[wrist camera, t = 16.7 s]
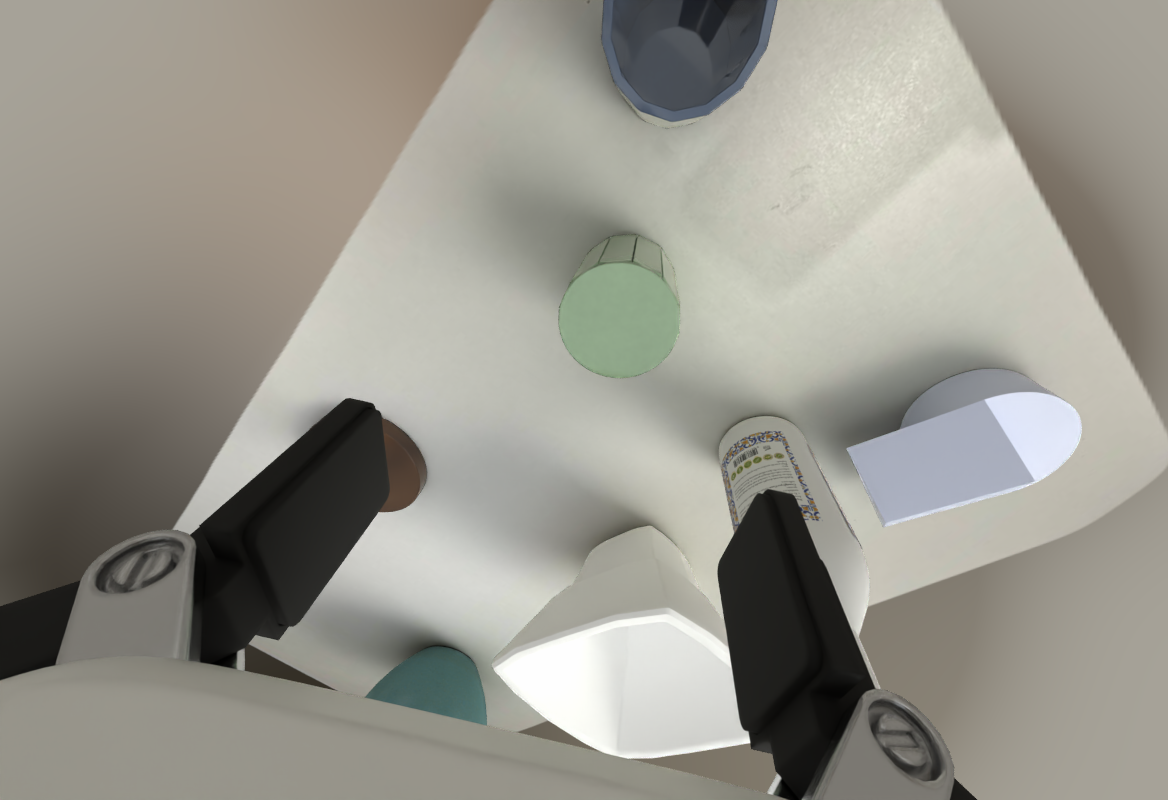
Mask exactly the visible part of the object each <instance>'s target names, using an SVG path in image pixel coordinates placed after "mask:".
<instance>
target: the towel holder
mask: <svg viewBox="0 0 1168 800" xmlns="http://www.w3.org/2000/svg"><path fill="white" fill-rule="evenodd" d="M324 417H325V416H324ZM324 417H323V418H324ZM323 418H322V419H323ZM319 421H320V420H319ZM319 421H318V422H319ZM318 422H317V423H318ZM317 423H316V424H317ZM316 424H314V425H316ZM314 425H313V426H314ZM382 425H383V433H384V442H385V450H386V458H387V466H388V475H389V483H390V493H389V496H388V499H387V501H386V502H385V504H384V505H383V507H382V508H381V509H380V511H379V512H393V511H398V510H401V509H403V508H406V507H407V506H409V505H410V504H411V503H413V502H414V501H415V499H416V498H417V496H418V495H419V493H420V492H421V490H422V489H423V487H424V485H425V482H426V476H427V471H426V465H425V461H424V459H423V456H422V454H421V452H420V451H419V449H418V447H417V446H416V445H415V443H414V442H413V441H412V440H411V439H410V438H409V436H408V435H406V434H405V433H404V432H403V431H402V430H401V429H399V428H398V427H397V426H395V425H394V424H392V423H391V422H389V421H387V420H385V419H383V418H382ZM313 426H312V427H313ZM312 427H311V428H312ZM311 428H310V429H311ZM310 429H309V430H310Z"/></svg>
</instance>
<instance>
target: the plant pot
mask: <svg viewBox="0 0 1168 800" xmlns="http://www.w3.org/2000/svg"><path fill="white" fill-rule="evenodd" d="M365 698H369V699H374V700H378V701H382V702H387V703H391V704H396V705H400V706H404V707H409V708H413V709H418V710H422V711H426V712H431V713H435V714H439V715H443V716H448V717H452V718H456V719H461V720H465V721H469V722H474V723H478V724H482V725H487V715H486V703H485V696H484V692H483V687H482V683H481V680H480V677H479V674H478V671H477V668H476V666H475V664H474V662H473V661H472V660H471V659H470V658H469V657H467V656H466V655H465V654H463V653H461V652H459V651H457V650H455V649H451V648H448V647H441V646H434V647H429V648H426V649H424V650H422V651H420V652H418V653H416V654H415V655H413V656H411V657H410V658H408V659H407V660H405V661H403V662H402V663H401V664H399V665H398V666H396V667H395V668H394V669H393V670H391V671H390V672H389V673H388V674H387V675H386V676H385V677H384V678H383V679H381V680H380V681H379V682H378V683H377V684H376V686H375V687H374V688H373V689H372V690H371V691H370V692H369V693H368V694H367V696H366V697H365Z"/></svg>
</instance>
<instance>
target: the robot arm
mask: <svg viewBox="0 0 1168 800" xmlns="http://www.w3.org/2000/svg"><path fill="white" fill-rule="evenodd" d="M389 493H390V483H389V475H388V466H387V458H386V450H385V442H384V433H383V425H382V417H381V413H380V411H378V410H376V409H375V406H374V404H372V403H370V402H365V401H360V400H356V399H351V398H347V399H345V400H343V401H342V402H341V403H340V404H339V405H337V406H336V407H335V408H334V409H333V410H332V411H331V412H329V413H328V414H327V415H326V416H325V417H324V418H323V419H321V420H320V421H319V422H318V423H317V424H316V425H314V426H313V427H312V428H311V429H310V430H309V431H308V432H306V433H305V434H304V435H303V436H302V437H301V438H300V439H298V440H297V441H296V442H295V443H294V444H293V445H291V446H290V447H289V448H288V449H287V450H286V451H285V452H283V453H282V454H281V455H280V456H279V457H278V458H277V459H275V460H274V461H273V462H272V463H271V464H270V465H268V466H267V467H266V468H265V469H264V470H263V471H262V472H260V473H259V474H258V475H257V476H256V477H255V478H254V479H252V480H251V481H250V482H249V483H248V484H247V485H245V486H244V487H243V488H242V489H241V490H240V491H239V492H237V493H236V494H235V495H234V496H233V497H232V498H231V499H229V500H228V501H227V502H226V503H225V504H224V505H222V506H221V507H220V508H219V509H218V510H217V511H216V512H214V513H213V514H212V515H211V516H210V517H209V518H208V519H206V520H205V521H204V522H203V523H202V524H201V525H199V526H200V527H199V528H198V529H197V530H195V531H194V532H193V533H192V534H191V535H189V534H188V533H185V532H181V531H178V530H159V531H154V532H148V533H145V534H142V535H138V536H135V537H132V538H130V539H128V540H126V541H124V542H122V543H120V544H118V545H116V546H114V547H112V548H111V549H109V550H108V551H107V552H105V553H104V554H102V555H101V556H99V557H98V558H97V559H96V560H95V561H94V562H93V563H92V564H91V565H90V566H89V567H88V568H87V570H86V572H85V574H84V576H83V578H82V579H81V581H78V582H75V583H71V584H68V585H65V586H62V587H59V588H56V589H53V590H50V591H46V592H43V593H40V594H37V595H34V596H31V597H28V598H25V599H22V600H18V601H15V602H13V603H9V604H6V605H3V606H0V800H977V799H976V798H975V797H974V796H973V795H972V794H971V793H969V791H967V790H966V789H965V788H964V787H963V786H962V785H961V784H960V783H959V782H958V781H957V780H956V779H955V778H954V765H953V762H952V758H951V755H950V752H949V750H948V748H947V746H946V744H945V743H944V740H943V739H942V737H941V735H940V734H939V732H938V731H937V730H936V729H935V727H934V726H933V724H932V723H931V722H930V721H929V719H928V718H927V717H926V716H925V715H924V714H923V713H921V712H920V711H919V710H918V709H917V708H916V707H915V706H914V705H913V704H911V703H910V702H908V701H907V700H905V699H904V698H903V697H901V696H899V695H897V694H894V693H892V692H890V691H888V690H881V689H875V686H874V684H873V681H872V679H871V676H870V674H869V671H868V669H867V666H866V664H865V661H864V659H863V656H862V654H861V652H860V649H859V647H858V644H857V642H856V639H855V637H854V634H853V632H852V629H851V627H850V624H849V622H848V619H847V617H846V614H845V612H844V610H843V607H842V605H841V602H840V600H839V597H838V595H837V592H836V590H835V587H834V585H833V582H832V580H831V577H830V575H829V573H828V570H827V568H826V566H825V564H824V562H823V561H822V560H821V559H820V557H819V555H818V552H817V550H816V547H815V545H814V542H813V540H812V537H811V535H810V532H809V530H808V527H807V525H806V522H805V520H804V517H803V515H802V512H801V510H800V507H799V505H798V502H797V500H796V498H795V496H794V495H793V494H790V493H785V492H781V491H776V490H772V489H767V490H765V491H764V493H763V494H761V493H758V494H756V496H755V497H754V499H753V501H752V503H751V504H750V506H749V508H748V510H747V512H746V514H745V515H744V517H743V519H742V521H741V523H740V524H739V526H738V528H737V530H736V532H735V534H734V535H733V537H732V539H731V541H730V543H729V545H728V546H727V548H726V550H725V552H724V554H723V555H722V557H721V559H720V561H719V564H718V581H719V588H720V594H721V601H722V608H723V614H724V621H725V627H726V634H727V640H728V647H729V654H730V660H731V667H732V673H733V680H734V687H735V693H736V700H737V706H738V713H739V719H740V723H741V726H742V728H743V730H745V731H748V732H749V739H750V744H751V749H753V750H757V751H762V752H767V753H771V754H773V759H774V765H775V770H776V772H777V773H778V774H777V775H776V777H775V779H774V781H773V783H772V785H771V787H770V788H769V790H768V792H767V793H764V792H760V791H756V790H752V789H748V788H744V787H741V786H737V785H733V784H729V783H725V782H721V781H717V780H713V779H710V778H706V777H702V776H698V775H694V774H690V773H686V772H681V771H677V770H673V769H669V768H665V767H661V766H656V765H652V764H648V763H644V762H640V761H635V760H631V759H627V758H623V757H619V756H614V755H610V754H606V753H602V752H598V751H593V750H589V749H585V748H581V747H577V746H572V745H568V744H564V743H559V742H555V741H551V740H546V739H542V738H538V737H534V736H529V735H525V734H521V733H517V732H512V731H508V730H504V729H500V728H495V727H491V726H487V725H482V724H478V723H474V722H469V721H465V720H461V719H456V718H452V717H448V716H443V715H439V714H435V713H431V712H426V711H422V710H418V709H413V708H409V707H404V706H400V705H396V704H391V703H387V702H382V701H378V700H374V699H369V698H365V697H360V696H356V695H352V694H347V693H343V692H338V691H334V690H330V689H325V688H321V687H316V686H312V685H307V684H303V683H299V682H294V681H289V680H285V679H280V678H275V677H270V676H266V675H261V674H256V673H251V672H246V671H245V669H244V668H245V664H244V663H245V661H244V659H245V654H244V652H245V651H244V648H245V647H246V646H247V644H249V642H250V641H251V640H252V638H253V637H254V636H255V635H258V636H263V637H267V638H271V639H276V640H279V639H280V638H281V636H282V635H283V634H284V632H285V631H286V630H287V628H288V627H289V626H292V627H293V626H295V625H296V624H297V623H299V622H300V620H301V619H302V618H303V617H304V615H305V614H306V612H307V611H308V610H309V608H310V607H311V605H312V604H313V603H314V601H315V600H316V598H317V597H318V596H319V594H320V593H321V591H322V590H323V589H324V587H325V586H326V584H327V583H328V582H329V580H330V579H331V578H332V576H333V575H334V573H335V572H336V571H337V569H338V568H339V566H340V565H341V564H342V562H343V561H344V559H345V558H346V557H347V555H348V554H349V552H350V551H351V550H352V548H353V547H354V546H355V544H356V543H357V541H358V540H359V539H360V537H361V536H362V534H363V533H364V532H365V530H366V529H367V527H368V526H369V525H370V523H371V522H372V520H373V519H374V518H375V516H376V515H377V513H378V512H379V511H380V509H381V508H382V507H383V505H384V504H385V502H386V501H387V499H388V496H389Z"/></svg>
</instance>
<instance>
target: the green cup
mask: <svg viewBox="0 0 1168 800" xmlns="http://www.w3.org/2000/svg"><path fill="white" fill-rule="evenodd" d="M559 308H560V309H559V319H558V320H559V329H560V334H561V337H562V340H563V342H564V344H565V347H566V348H567V350H568V351H569V353H570V354H571V355H572V356H573V358H574V359H575V360H576V361H577V362H578V363H580V364H581V365H582V366H584V367H585V368H586V369H588V370H590V371H592V372H594V373H596V374H599V375H602V376H606V377H612V378H628V377H634V376H637V375H641V374H643V373H646V372H648V371H650V370H651V369H653V368H655V367H656V366H657V365H659V364H660V363H661V362H662V361H663V360H664V359H665V358H666V357H667V356H668V354H669V353H670V352H671V350H672V348H673V347H674V345H675V343H676V340H677V338H678V334H679V328H680V302H679V296H678V290H677V284H676V278H675V271H674V268H673V266H672V264H671V263H670V261H669V259H668V257H667V256H666V254H665V252H664V251H663V249H662V248H660V246H659V245H657V244H655V243H653V242H652V241H650V240H648V239H646V238H644V237H642V236H640V235H638V236H637V235H636V234H631V235H617V236H612V237H611V238H610V237H608V238H607V239H606V240H604V241H603V242H601V243H600V244H599V245H597V246H596V247H594V248H593V249H591V250H590V251H589V253H588V254H587V256H586V257H585V259H584V260H583V262H582V264H581V265H580V267H579V269H578V270H577V272H576V274H575V275H574V277H573V278H572V280H571V282H570V284H569V286H568V288H567V291H566V293H565V295H564V297H563V299H562V302H561V304H560V306H559Z"/></svg>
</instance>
